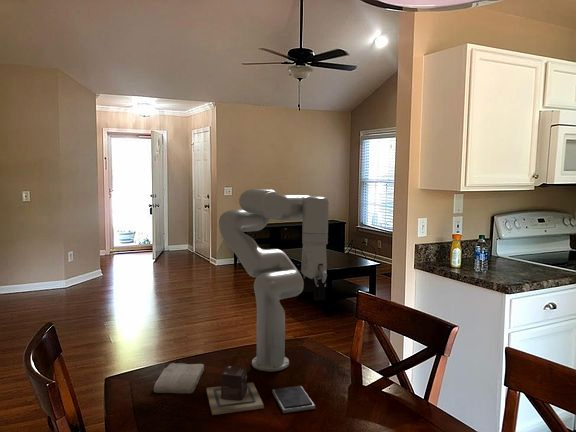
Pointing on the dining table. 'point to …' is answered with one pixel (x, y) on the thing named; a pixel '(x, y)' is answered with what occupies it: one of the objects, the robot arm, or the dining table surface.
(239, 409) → the board
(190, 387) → the washcloth
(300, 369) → the dining table surface
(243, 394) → the box
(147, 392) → the dining table surface
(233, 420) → the dining table surface
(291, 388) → the ink pad
